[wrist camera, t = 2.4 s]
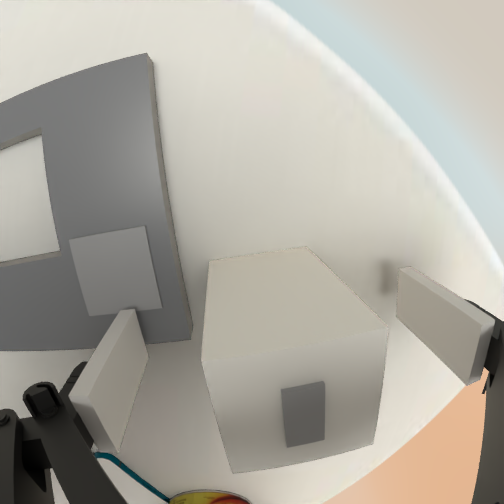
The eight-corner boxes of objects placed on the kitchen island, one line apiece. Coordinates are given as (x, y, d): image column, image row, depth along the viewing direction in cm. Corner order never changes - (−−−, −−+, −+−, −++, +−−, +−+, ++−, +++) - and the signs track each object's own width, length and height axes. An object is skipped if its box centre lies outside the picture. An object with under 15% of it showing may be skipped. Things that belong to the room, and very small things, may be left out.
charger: (224, 345, 18) (232, 477, 9) (209, 260, 16) (200, 365, 8) (311, 330, 18) (375, 447, 9) (306, 246, 17) (391, 329, 8)
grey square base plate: (1, 340, 16) (-11, 352, 15) (-44, 135, 13) (-60, 135, 11) (193, 325, 17) (190, 341, 16) (152, 62, 13) (145, 51, 12)
